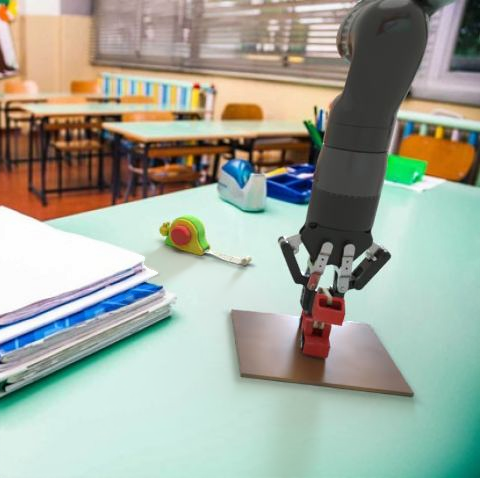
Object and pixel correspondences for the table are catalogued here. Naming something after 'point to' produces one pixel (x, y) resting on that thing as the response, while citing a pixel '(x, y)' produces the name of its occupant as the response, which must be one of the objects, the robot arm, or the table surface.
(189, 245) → the toy measuring tape
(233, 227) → the table surface
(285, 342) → the metal plate
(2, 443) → the table surface
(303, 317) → the toy fire truck
